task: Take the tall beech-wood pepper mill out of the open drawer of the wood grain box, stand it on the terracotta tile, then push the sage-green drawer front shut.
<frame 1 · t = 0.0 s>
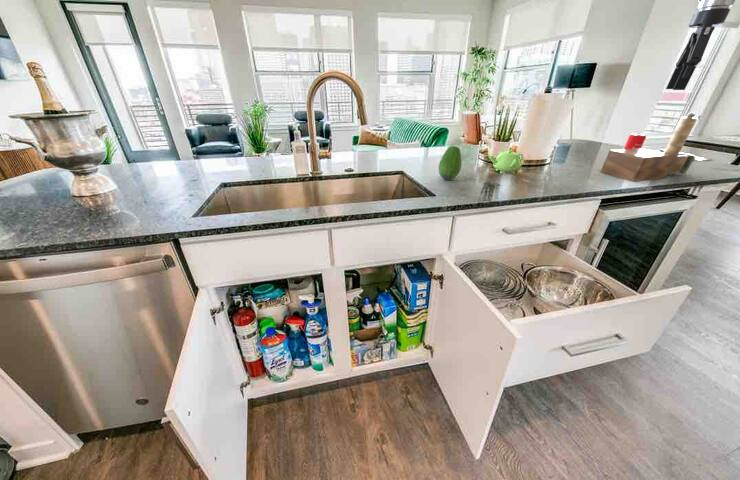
hand: (674, 89, 94), 28 cm above the worktop, tool pointing down, fingers open, 13 cm apart
wood grain box: (630, 175, 103), on the worktop
tile: (695, 159, 123), on the worktop
avocado: (448, 179, 101), on the worktop
green bumpy rounded figure: (502, 172, 109), on the worktop
drawer: (664, 161, 104), point 4 cm above the worktop, slide at 9.5 cm, touching pepper mill
pepper mill: (662, 169, 103), point 2 cm above the worktop, touching drawer
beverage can: (625, 164, 118), on the worktop
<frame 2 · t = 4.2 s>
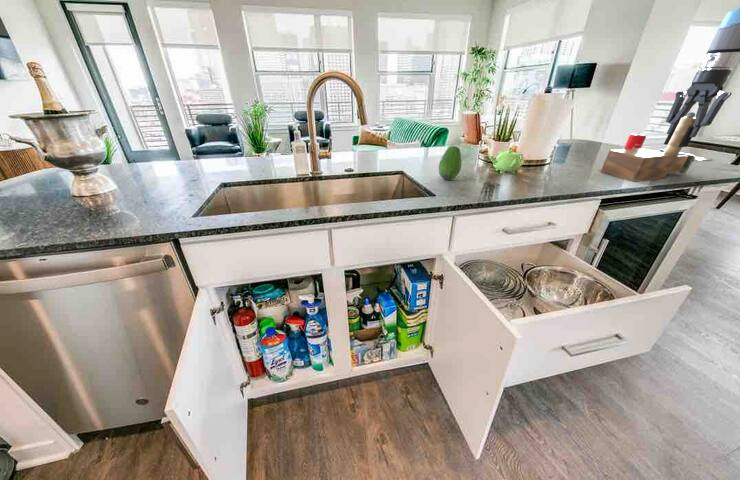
hand: (675, 145, 99), 11 cm above the worktop, tool pointing down, fingers closed on pepper mill, 4 cm apart
pepper mill: (662, 169, 103), point 2 cm above the worktop, touching drawer, gripper
everything else where it was.
when the fingers open (9 cm above the worktop, at t = 14.6 s): pepper mill stays where it is, resting on tile.
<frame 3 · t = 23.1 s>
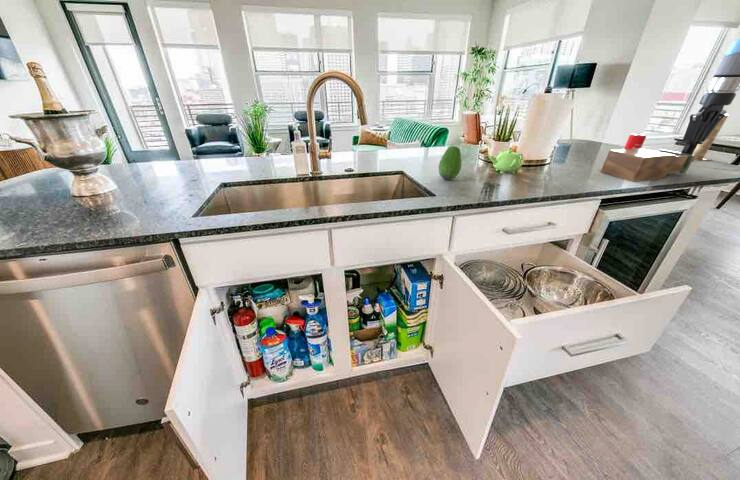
hand: (682, 161, 106), 4 cm above the worktop, tool pointing down, fingers closed
drawer: (663, 161, 104), point 4 cm above the worktop, slide at 9.3 cm, touching gripper
pepper mill: (696, 158, 123), point 1 cm above the worktop, touching tile
everything else where it was.
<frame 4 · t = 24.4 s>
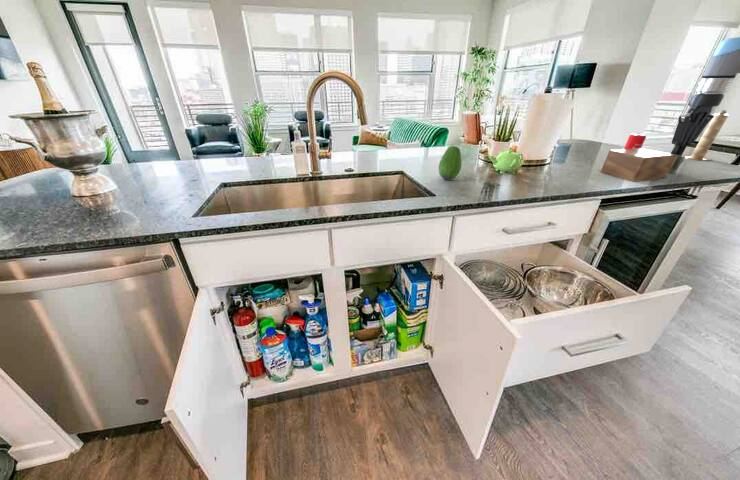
hand: (671, 162, 105), 4 cm above the worktop, tool pointing down, fingers closed
drawer: (653, 162, 103), point 4 cm above the worktop, slide at 4.2 cm, touching gripper
everything else where it was.
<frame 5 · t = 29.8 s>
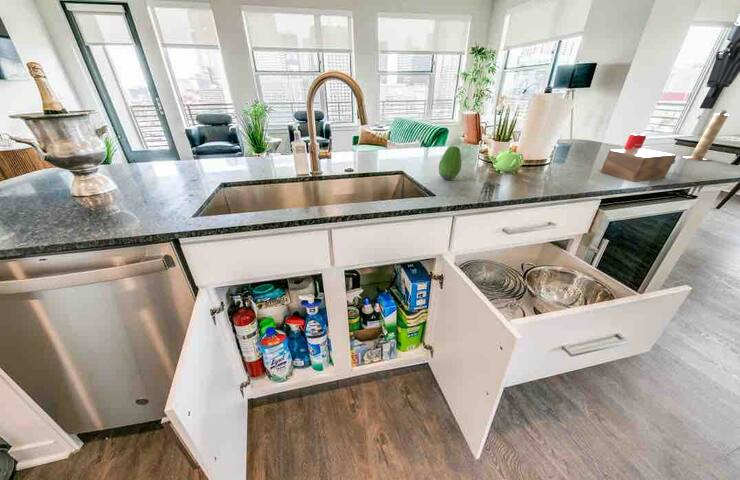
hand: (705, 108, 96), 22 cm above the worktop, tool pointing down, fingers closed
drawer: (644, 163, 102), point 4 cm above the worktop, slide at 0.0 cm, touching wood grain box
everything else where it was.
at the end: pepper mill 0.0 cm off-centre on the tile, point 0.6 cm above the tile's base; pepper mill tilted 0°; drawer slide at 0.0 cm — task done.
